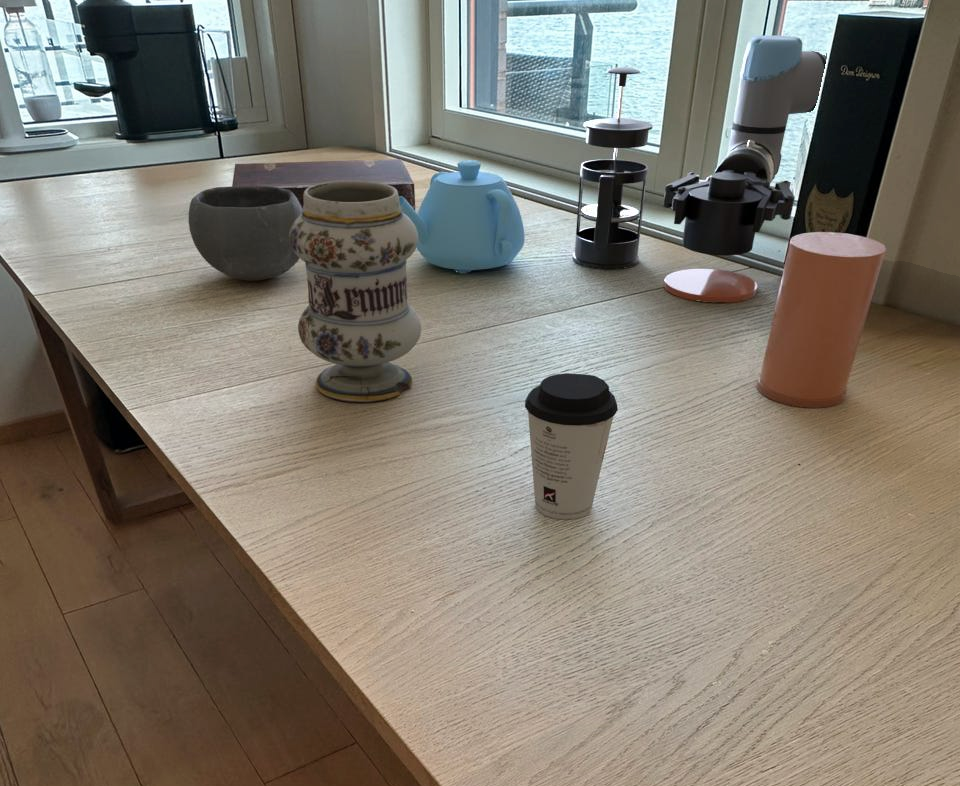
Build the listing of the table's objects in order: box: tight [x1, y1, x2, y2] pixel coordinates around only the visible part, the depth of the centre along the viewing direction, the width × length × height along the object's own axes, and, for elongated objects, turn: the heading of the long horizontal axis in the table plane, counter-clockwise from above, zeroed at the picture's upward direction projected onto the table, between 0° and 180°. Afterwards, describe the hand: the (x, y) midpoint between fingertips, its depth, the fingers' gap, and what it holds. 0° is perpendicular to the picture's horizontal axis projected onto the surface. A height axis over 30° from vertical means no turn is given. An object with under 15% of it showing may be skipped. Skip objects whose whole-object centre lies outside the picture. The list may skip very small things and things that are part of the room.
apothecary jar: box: [289, 180, 422, 403], centre depth 82 cm, size 12×12×18 cm
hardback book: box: [231, 158, 416, 211], centre depth 145 cm, size 29×19×5 cm, turn 101°
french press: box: [572, 66, 654, 270], centre depth 115 cm, size 12×9×23 cm
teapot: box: [399, 160, 525, 274], centre depth 116 cm, size 20×20×13 cm
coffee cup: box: [524, 372, 619, 520], centre depth 66 cm, size 7×7×10 cm
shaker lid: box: [681, 172, 762, 256], centre depth 107 cm, size 9×9×8 cm
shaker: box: [756, 231, 887, 409], centre depth 83 cm, size 9×9×14 cm
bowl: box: [188, 185, 302, 282], centre depth 112 cm, size 15×15×10 cm
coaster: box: [663, 268, 759, 304], centre depth 113 cm, size 12×12×1 cm
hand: (717, 216), depth 103 cm, fingers closed on shaker lid, 9 cm apart
